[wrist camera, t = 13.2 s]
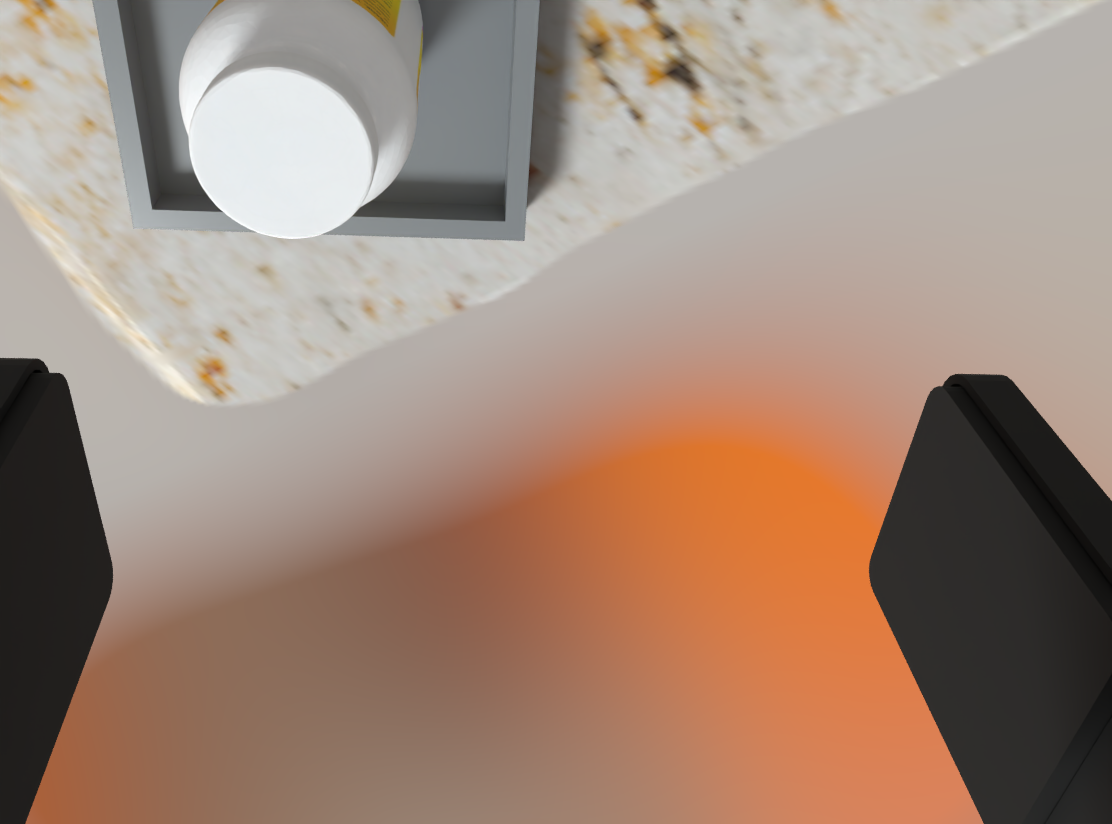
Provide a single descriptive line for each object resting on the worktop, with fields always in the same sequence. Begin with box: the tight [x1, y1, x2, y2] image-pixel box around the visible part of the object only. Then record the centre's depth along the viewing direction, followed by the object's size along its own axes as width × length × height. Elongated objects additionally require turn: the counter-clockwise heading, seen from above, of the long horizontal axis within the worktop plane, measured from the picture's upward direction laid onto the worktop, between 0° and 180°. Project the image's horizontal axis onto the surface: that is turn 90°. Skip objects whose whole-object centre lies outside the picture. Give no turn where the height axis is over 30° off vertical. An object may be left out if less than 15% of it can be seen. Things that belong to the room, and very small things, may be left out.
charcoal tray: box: [92, 0, 540, 241], centre depth 36 cm, size 15×15×2 cm
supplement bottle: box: [179, 0, 423, 239], centre depth 31 cm, size 7×7×13 cm
